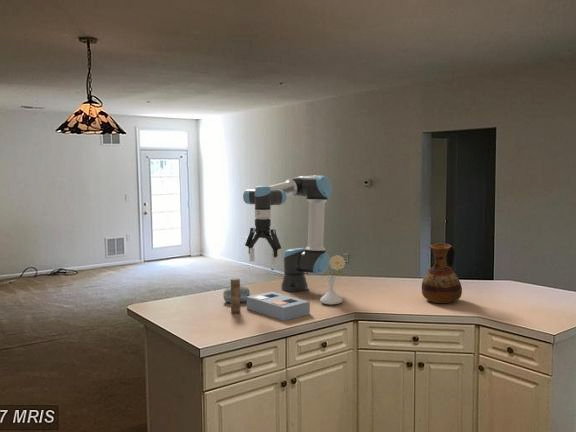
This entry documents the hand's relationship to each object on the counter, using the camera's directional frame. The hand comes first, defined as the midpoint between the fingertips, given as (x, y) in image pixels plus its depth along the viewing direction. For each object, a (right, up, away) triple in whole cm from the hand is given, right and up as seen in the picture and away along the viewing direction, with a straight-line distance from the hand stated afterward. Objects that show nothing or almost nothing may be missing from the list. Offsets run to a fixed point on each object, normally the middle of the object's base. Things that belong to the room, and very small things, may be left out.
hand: (262, 262), depth 246 cm
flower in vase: (+35, -22, +14) cm, 44 cm away
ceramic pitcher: (+91, -22, +18) cm, 95 cm away
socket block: (+7, -24, 0) cm, 25 cm away
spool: (-14, -22, +19) cm, 32 cm away
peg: (-13, -24, -1) cm, 27 cm away
